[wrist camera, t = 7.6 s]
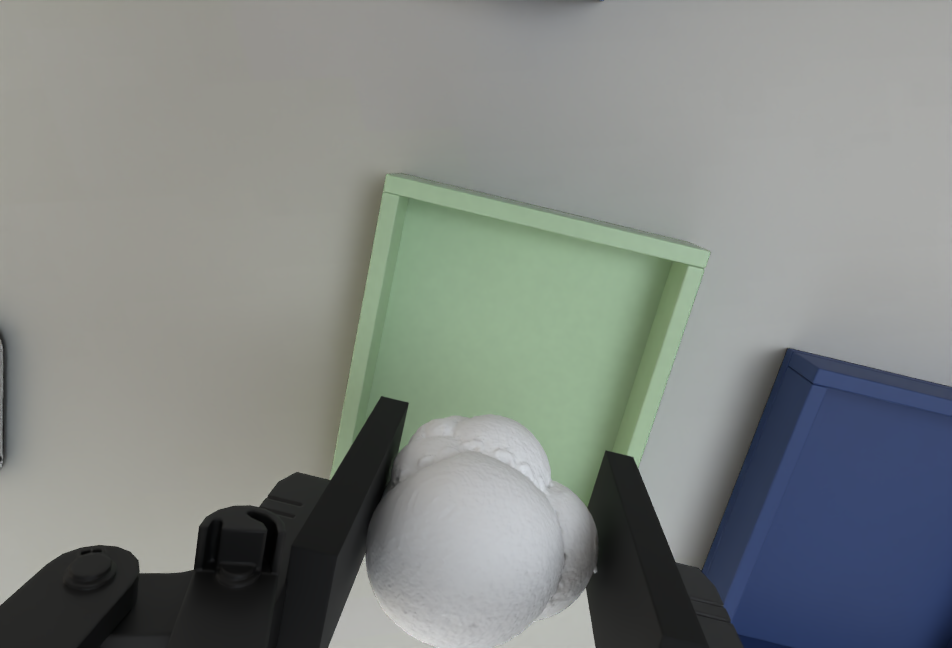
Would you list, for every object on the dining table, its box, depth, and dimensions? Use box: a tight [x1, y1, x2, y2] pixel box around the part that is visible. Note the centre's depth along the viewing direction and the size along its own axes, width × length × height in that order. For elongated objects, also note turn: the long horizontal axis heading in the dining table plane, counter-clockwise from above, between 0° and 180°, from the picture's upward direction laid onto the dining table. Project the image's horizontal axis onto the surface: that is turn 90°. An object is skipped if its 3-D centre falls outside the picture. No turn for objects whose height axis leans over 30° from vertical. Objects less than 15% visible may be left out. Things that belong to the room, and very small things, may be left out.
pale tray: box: [330, 174, 711, 507], centre depth 23 cm, size 13×11×2 cm
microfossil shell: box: [366, 414, 599, 648], centre depth 14 cm, size 4×5×6 cm
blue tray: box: [702, 348, 952, 648], centre depth 24 cm, size 13×11×2 cm
